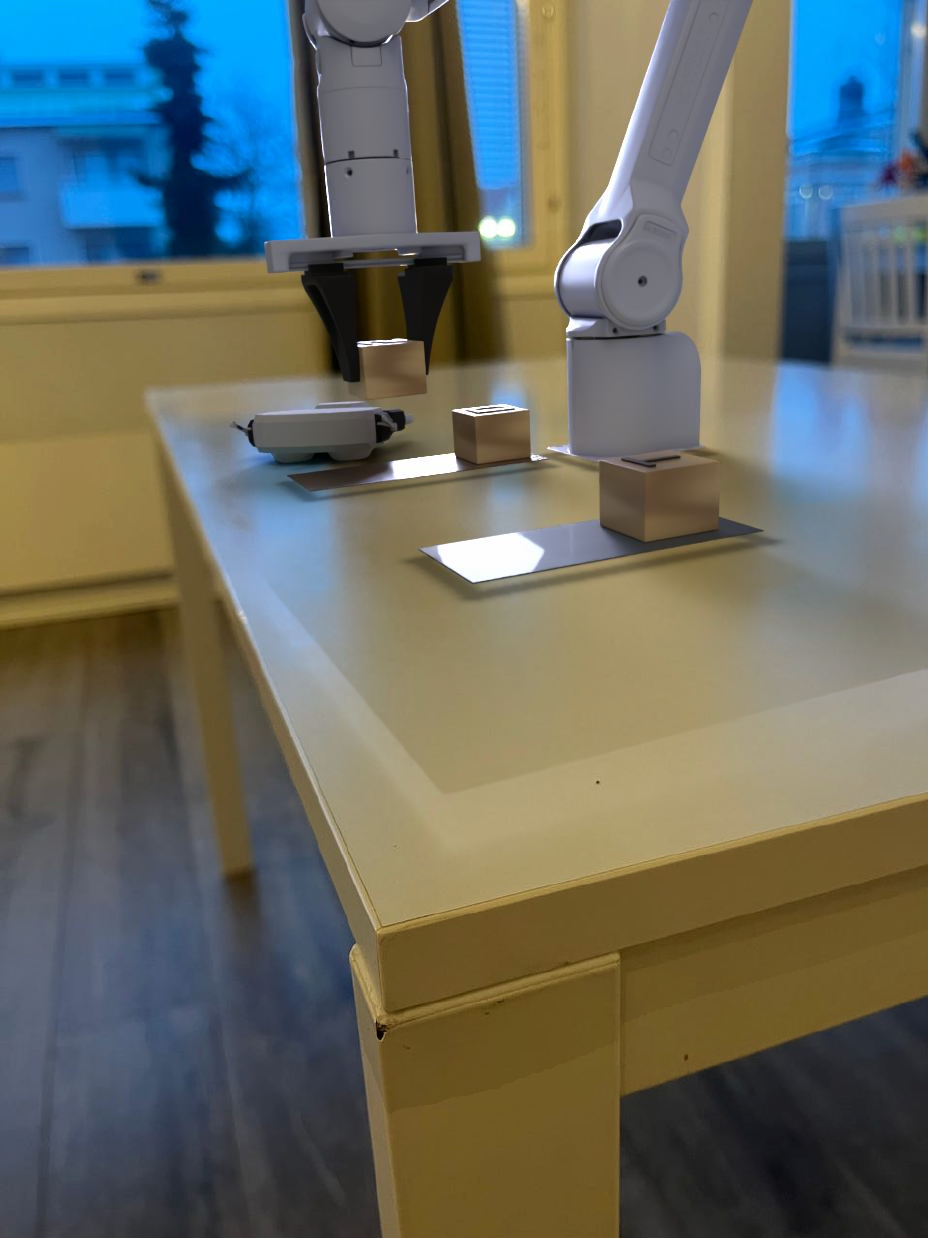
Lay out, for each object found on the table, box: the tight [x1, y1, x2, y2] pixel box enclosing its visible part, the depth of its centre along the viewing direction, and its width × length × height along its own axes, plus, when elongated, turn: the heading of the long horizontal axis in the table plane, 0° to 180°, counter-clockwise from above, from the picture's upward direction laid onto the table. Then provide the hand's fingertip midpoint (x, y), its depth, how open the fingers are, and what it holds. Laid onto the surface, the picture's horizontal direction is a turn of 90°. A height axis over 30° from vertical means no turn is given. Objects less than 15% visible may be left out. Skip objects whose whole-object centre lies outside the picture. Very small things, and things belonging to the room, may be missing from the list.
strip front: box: [418, 516, 765, 585], centre depth 48 cm, size 16×7×1 cm, turn 113°
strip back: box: [286, 452, 549, 493], centre depth 70 cm, size 18×7×1 cm, turn 113°
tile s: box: [347, 338, 428, 401], centre depth 67 cm, size 4×4×4 cm
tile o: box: [451, 404, 532, 464], centre depth 71 cm, size 4×4×4 cm
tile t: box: [598, 450, 722, 543], centre depth 49 cm, size 4×4×4 cm
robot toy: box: [229, 400, 415, 463], centre depth 79 cm, size 12×4×15 cm
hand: (386, 377), depth 67 cm, fingers closed on tile s, 4 cm apart
